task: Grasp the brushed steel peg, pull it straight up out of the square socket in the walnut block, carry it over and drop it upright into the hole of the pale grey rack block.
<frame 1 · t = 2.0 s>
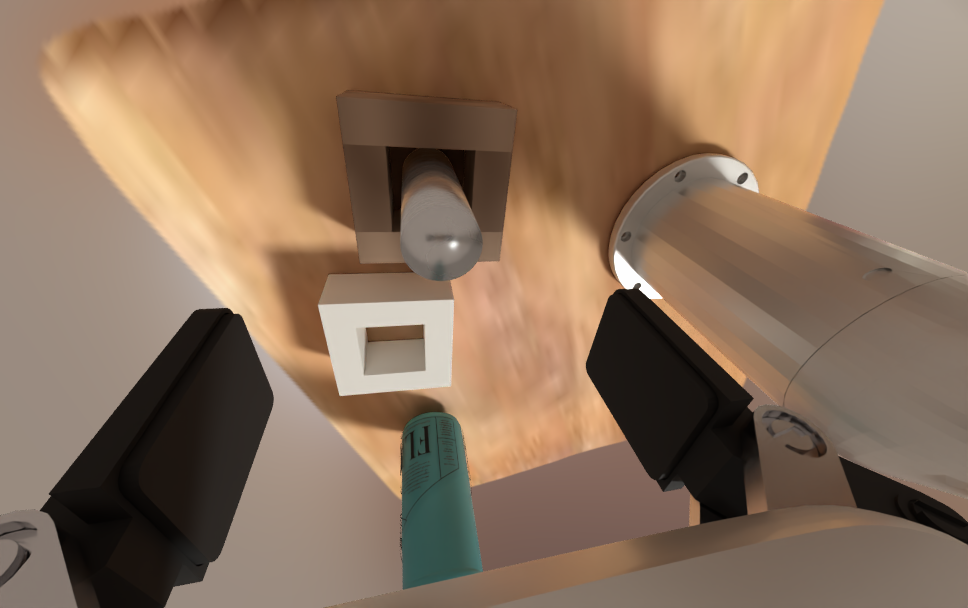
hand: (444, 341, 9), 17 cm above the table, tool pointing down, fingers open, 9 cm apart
beverage bottle: (431, 417, 38), on the table
steel peg: (433, 201, 19), in the socket block
rack block: (394, 318, 29), on the table
socket block: (428, 174, 23), on the table
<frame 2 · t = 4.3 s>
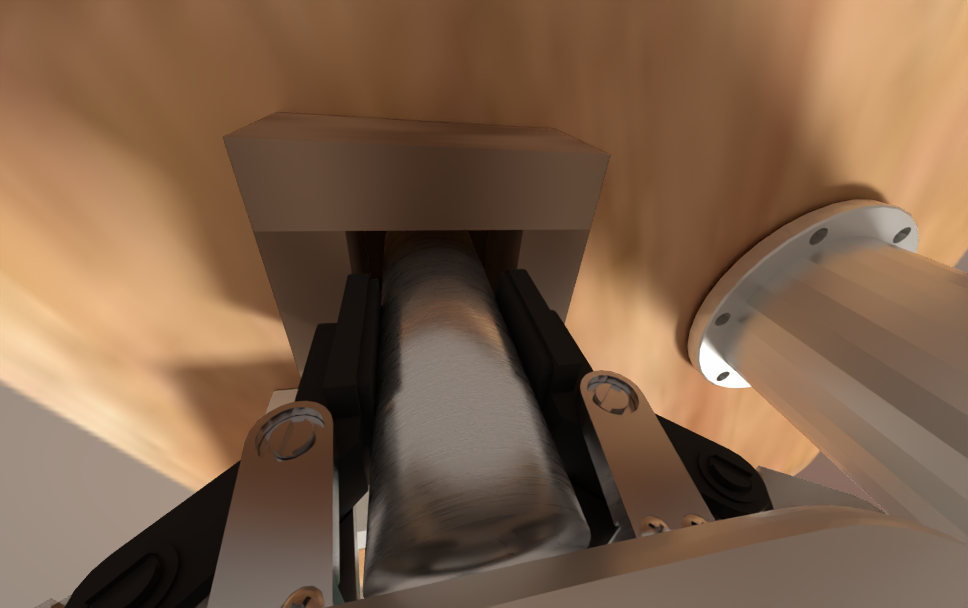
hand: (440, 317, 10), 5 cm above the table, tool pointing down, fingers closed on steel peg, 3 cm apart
steel peg: (443, 333, 9), in the socket block, touching gripper
rack block: (379, 434, 20), on the table
socket block: (428, 246, 14), on the table
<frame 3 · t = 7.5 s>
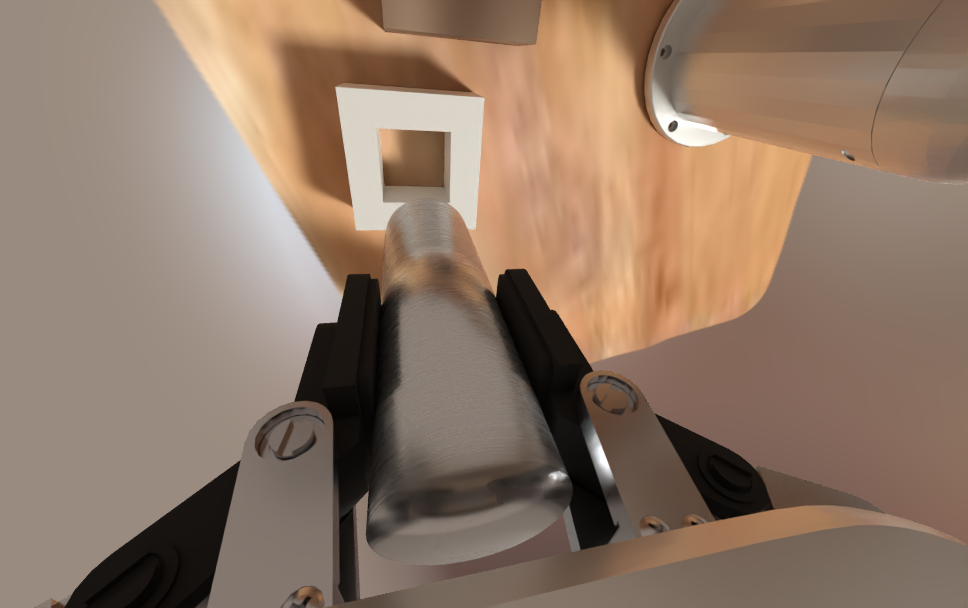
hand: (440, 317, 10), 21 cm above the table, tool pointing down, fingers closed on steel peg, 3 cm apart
steel peg: (440, 317, 10), point 21 cm above the table, touching gripper
rack block: (413, 155, 27), on the table
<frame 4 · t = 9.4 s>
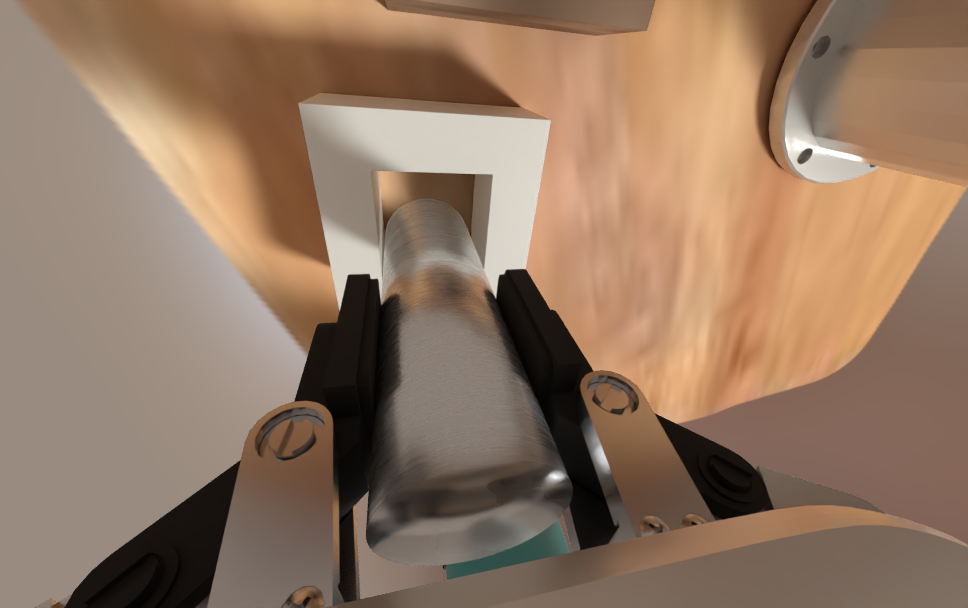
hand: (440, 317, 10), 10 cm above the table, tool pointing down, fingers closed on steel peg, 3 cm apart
beverage bottle: (469, 375, 27), on the table
steel peg: (440, 318, 10), point 10 cm above the table, touching gripper
rack block: (428, 199, 18), on the table
when the fingers open (7 cm above the table, at t = 11.1 s): steel peg drops 1 cm, resting in rack block.
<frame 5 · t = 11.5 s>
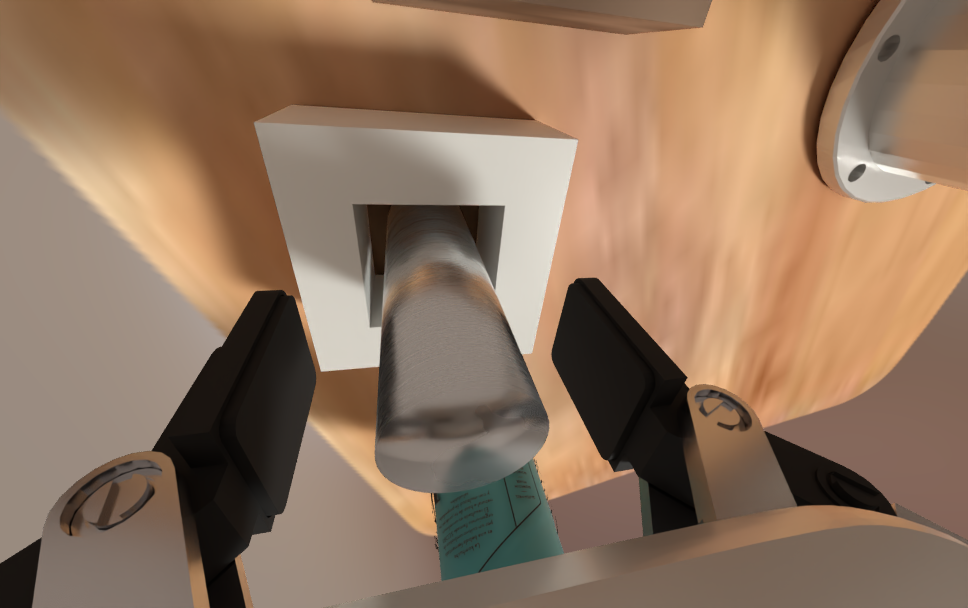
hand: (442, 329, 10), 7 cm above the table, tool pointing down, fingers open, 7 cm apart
beverage bottle: (471, 413, 24), on the table
steel peg: (438, 292, 11), in the rack block
rack block: (425, 226, 15), on the table
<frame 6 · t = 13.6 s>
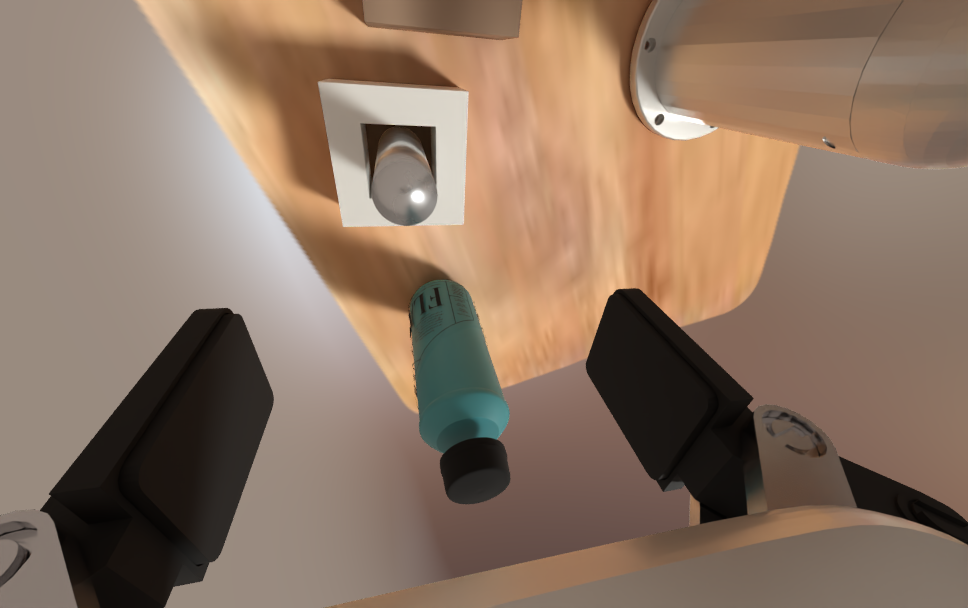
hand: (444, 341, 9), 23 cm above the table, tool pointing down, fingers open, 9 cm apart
beverage bottle: (439, 296, 36), on the table
steel peg: (402, 168, 22), in the rack block
rack block: (400, 151, 27), on the table
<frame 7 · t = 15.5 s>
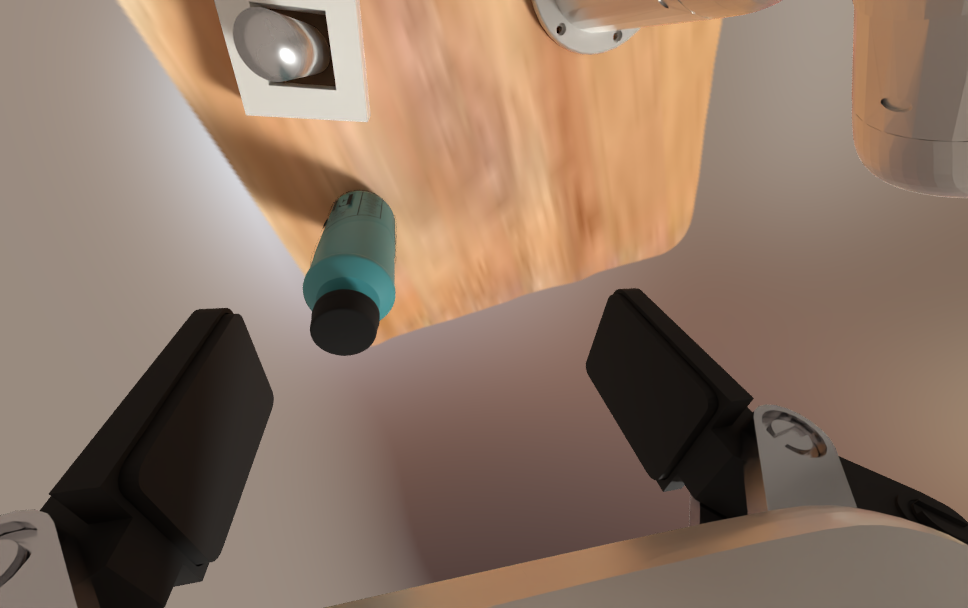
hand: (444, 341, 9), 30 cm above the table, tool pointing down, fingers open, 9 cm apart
beverage bottle: (365, 214, 37), on the table
steel peg: (291, 48, 24), in the rack block
rack block: (307, 50, 28), on the table
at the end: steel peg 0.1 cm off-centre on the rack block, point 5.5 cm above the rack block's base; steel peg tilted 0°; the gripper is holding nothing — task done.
